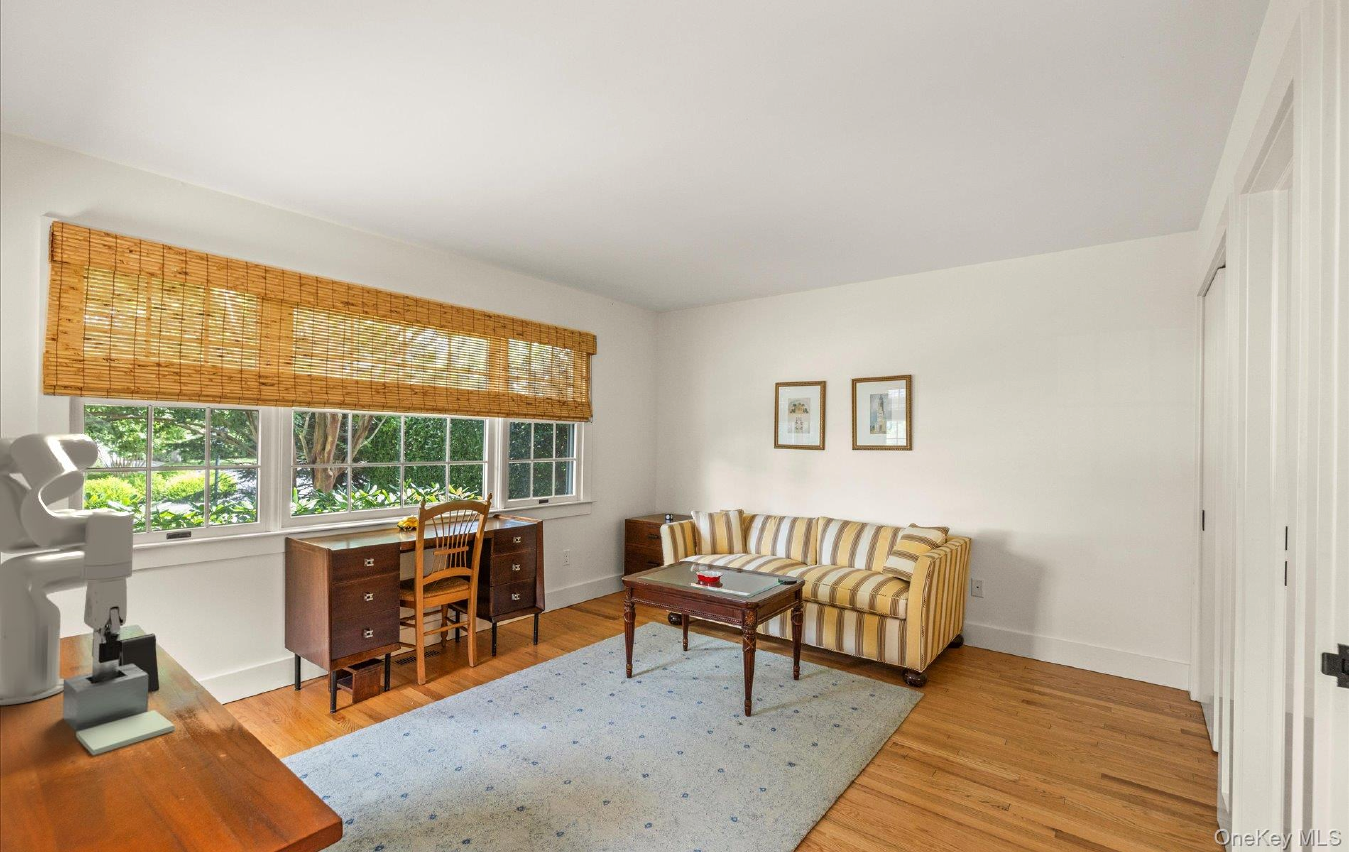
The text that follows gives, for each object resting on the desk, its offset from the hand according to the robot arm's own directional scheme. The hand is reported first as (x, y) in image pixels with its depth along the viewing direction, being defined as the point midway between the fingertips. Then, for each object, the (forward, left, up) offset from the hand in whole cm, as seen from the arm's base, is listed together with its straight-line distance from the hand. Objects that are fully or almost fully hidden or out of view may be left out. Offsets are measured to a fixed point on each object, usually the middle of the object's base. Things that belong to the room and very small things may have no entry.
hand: (105, 657), depth 129 cm
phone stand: (-12, +8, -12) cm, 19 cm away
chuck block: (0, 0, -12) cm, 12 cm away
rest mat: (+14, 0, -12) cm, 19 cm away
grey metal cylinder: (0, 0, -6) cm, 6 cm away
